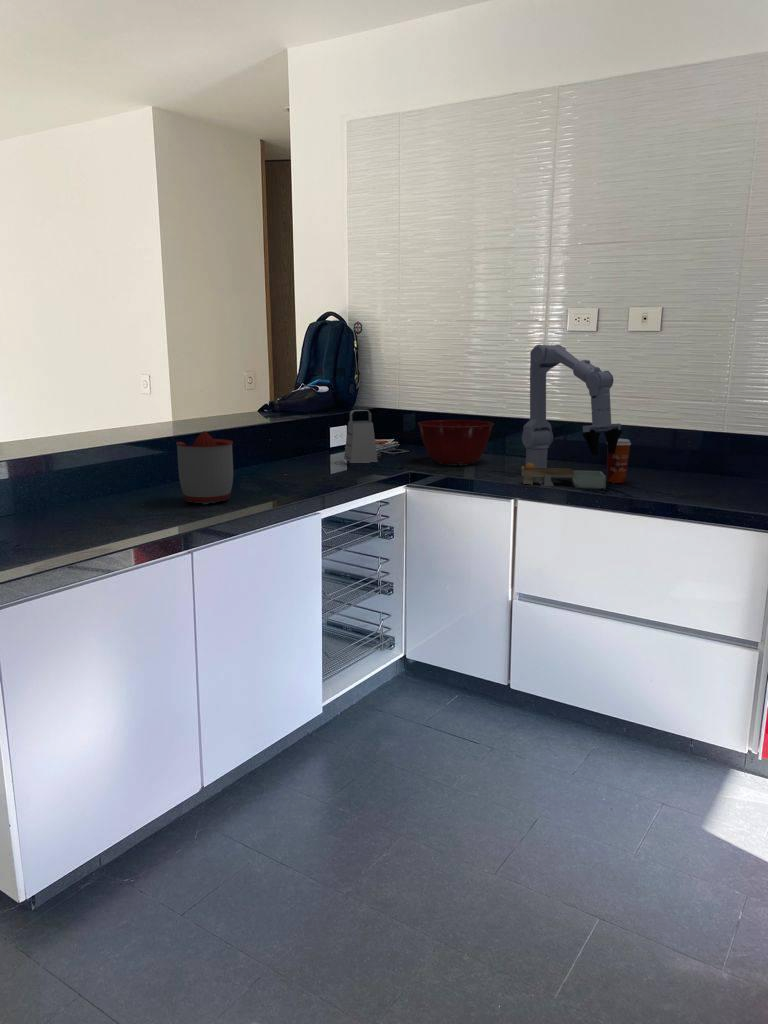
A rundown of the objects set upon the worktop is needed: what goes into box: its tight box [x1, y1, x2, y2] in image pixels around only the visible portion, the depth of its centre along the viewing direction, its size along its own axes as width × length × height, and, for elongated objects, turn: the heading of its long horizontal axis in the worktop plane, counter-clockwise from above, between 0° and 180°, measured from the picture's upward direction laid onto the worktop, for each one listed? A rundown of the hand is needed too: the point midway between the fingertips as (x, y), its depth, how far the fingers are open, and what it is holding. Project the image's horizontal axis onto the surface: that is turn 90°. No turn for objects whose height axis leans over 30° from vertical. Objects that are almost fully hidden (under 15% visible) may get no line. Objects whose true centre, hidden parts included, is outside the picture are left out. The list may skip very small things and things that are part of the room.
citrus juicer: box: [175, 431, 234, 502], centre depth 211 cm, size 16×17×20 cm
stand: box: [538, 474, 555, 487], centre depth 240 cm, size 8×4×4 cm, turn 173°
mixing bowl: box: [417, 419, 495, 466], centre depth 281 cm, size 28×28×16 cm
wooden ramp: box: [520, 465, 574, 486], centre depth 243 cm, size 13×16×5 cm
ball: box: [524, 463, 535, 470], centre depth 240 cm, size 3×3×3 cm
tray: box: [571, 469, 607, 490], centre depth 238 cm, size 11×9×4 cm
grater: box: [343, 409, 379, 463], centre depth 279 cm, size 10×10×20 cm
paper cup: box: [606, 438, 632, 484], centre depth 243 cm, size 8×8×14 cm
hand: (603, 454), depth 233 cm, fingers open, 7 cm apart
